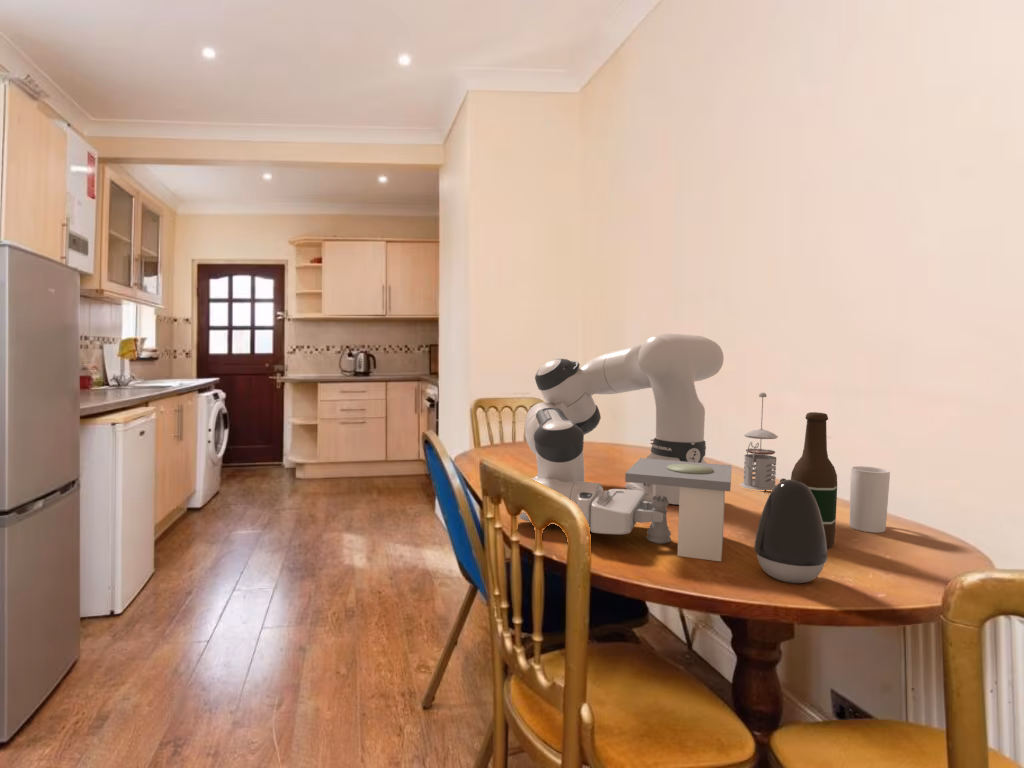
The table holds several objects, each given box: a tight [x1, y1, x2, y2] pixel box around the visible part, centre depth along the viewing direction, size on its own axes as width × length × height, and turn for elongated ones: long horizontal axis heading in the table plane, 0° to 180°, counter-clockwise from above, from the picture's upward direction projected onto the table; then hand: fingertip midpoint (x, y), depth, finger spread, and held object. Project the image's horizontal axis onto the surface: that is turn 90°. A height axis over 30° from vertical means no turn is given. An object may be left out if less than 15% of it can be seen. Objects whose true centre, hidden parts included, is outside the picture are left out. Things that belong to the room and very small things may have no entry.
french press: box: [739, 392, 779, 490], centre depth 158 cm, size 10×12×25 cm
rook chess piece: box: [646, 496, 672, 545], centre depth 111 cm, size 4×4×8 cm
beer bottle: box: [790, 411, 838, 550], centre depth 111 cm, size 8×8×24 cm
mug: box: [849, 465, 891, 534], centre depth 123 cm, size 10×7×12 cm, turn 150°
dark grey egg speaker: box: [753, 478, 828, 584], centre depth 93 cm, size 10×10×15 cm
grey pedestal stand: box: [624, 457, 733, 562], centre depth 109 cm, size 17×17×14 cm
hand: (664, 513), depth 110 cm, fingers closed on rook chess piece, 3 cm apart
